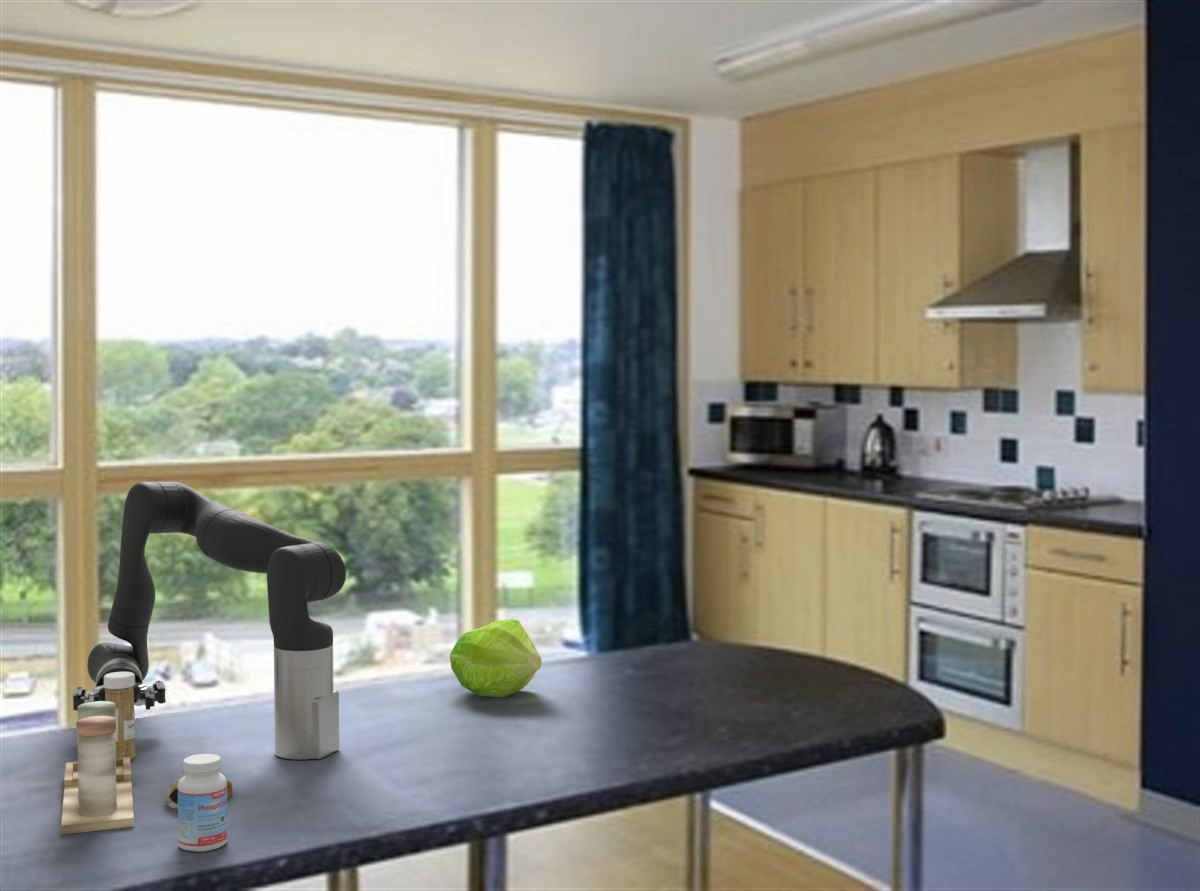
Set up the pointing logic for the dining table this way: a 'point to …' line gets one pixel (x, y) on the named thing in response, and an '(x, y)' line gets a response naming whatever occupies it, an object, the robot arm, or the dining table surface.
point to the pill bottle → (202, 804)
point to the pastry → (172, 794)
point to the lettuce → (495, 659)
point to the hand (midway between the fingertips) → (120, 705)
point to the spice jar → (122, 710)
